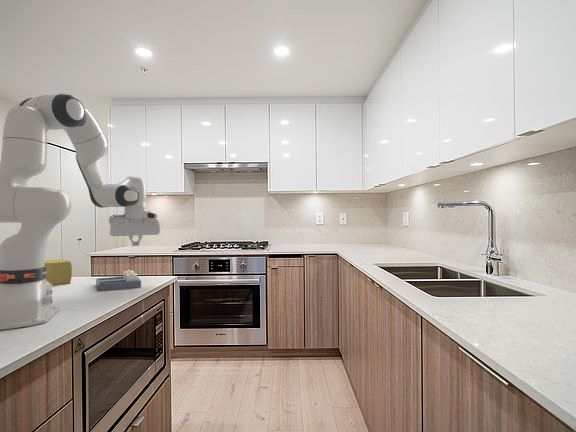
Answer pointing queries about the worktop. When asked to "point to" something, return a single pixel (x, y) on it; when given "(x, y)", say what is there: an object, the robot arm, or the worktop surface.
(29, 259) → the robot arm
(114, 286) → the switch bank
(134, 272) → the tab far
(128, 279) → the tab near
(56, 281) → the cheese
